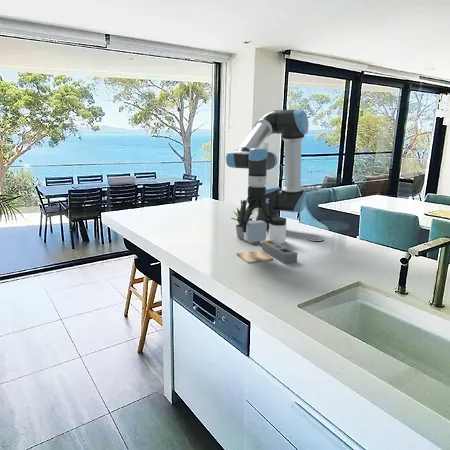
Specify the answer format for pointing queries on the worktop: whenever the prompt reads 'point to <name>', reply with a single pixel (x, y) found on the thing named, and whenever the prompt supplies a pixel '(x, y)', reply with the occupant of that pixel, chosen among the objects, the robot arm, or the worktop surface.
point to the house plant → (239, 227)
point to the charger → (256, 232)
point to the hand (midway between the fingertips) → (255, 238)
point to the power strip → (279, 251)
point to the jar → (278, 230)
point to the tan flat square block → (254, 256)
